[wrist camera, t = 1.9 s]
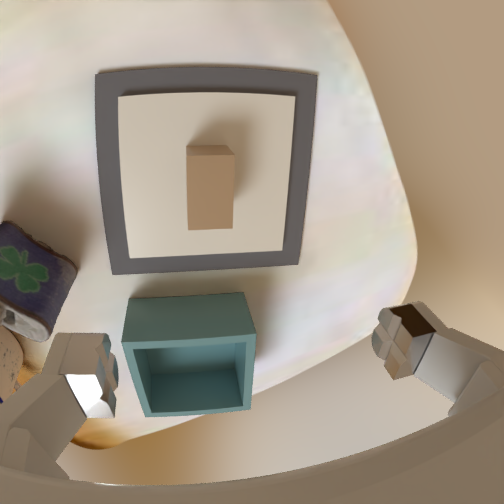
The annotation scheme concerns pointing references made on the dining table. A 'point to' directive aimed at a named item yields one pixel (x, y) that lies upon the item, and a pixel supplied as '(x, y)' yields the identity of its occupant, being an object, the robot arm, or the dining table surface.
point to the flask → (31, 283)
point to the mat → (190, 82)
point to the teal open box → (190, 353)
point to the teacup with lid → (9, 363)
